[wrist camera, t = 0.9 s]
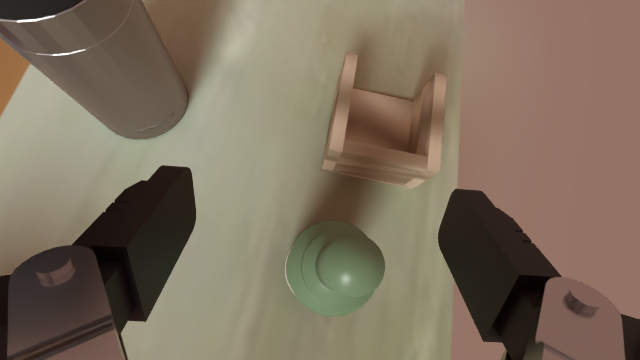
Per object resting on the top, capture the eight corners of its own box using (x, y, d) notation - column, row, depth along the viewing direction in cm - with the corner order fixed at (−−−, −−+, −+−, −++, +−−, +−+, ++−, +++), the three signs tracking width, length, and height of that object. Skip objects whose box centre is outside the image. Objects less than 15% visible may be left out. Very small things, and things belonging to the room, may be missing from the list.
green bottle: (272, 261, 33) (262, 247, 14) (319, 228, 35) (367, 176, 15) (305, 310, 32) (340, 368, 13) (351, 275, 34) (444, 281, 15)
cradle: (412, 188, 37) (439, 171, 31) (320, 170, 36) (329, 148, 30) (420, 105, 40) (447, 74, 33) (335, 87, 39) (346, 51, 33)
